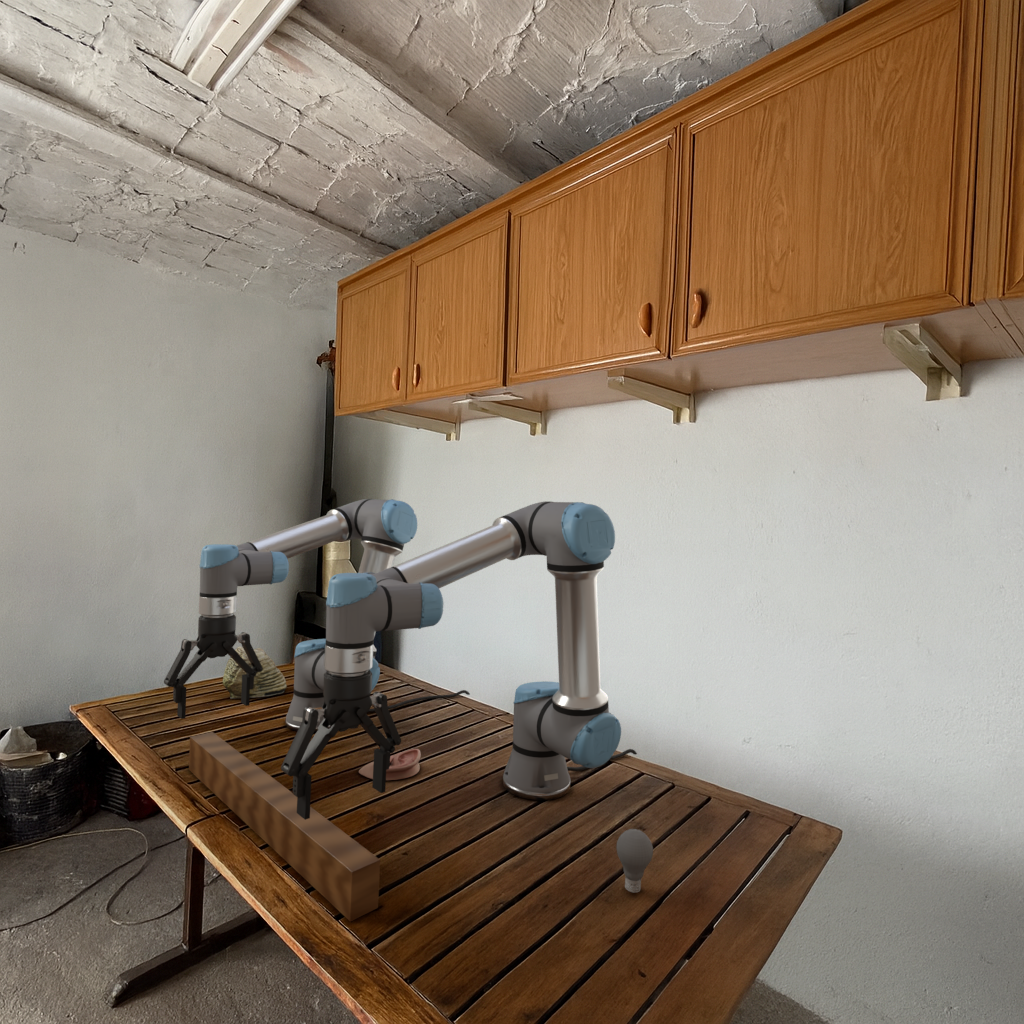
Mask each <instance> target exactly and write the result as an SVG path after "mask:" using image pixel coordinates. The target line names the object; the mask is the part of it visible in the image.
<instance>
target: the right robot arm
mask: <svg viewBox="0 0 1024 1024" xmlns="http://www.w3.org/2000/svg"><path fill="white" fill-rule="evenodd" d="M615 544H616V532H615V527H614V523H613V521H612V519H611V517H610V516H609V514H608V513H607V512H605V510H604V509H603V508H601V506H598V505H596V504H592V503H586V502H579V501H548V500H547V501H545V500H544V501H539V502H536V503H532V504H529V505H527V506H524V507H521V508H519V509H517V510H514V511H512V512H509V513H507V514H505V515H504V514H503V515H502V516H500V517H497V518H495V519H494V521H493V522H492V525H490V526H488V527H485V528H483V529H480V530H479V531H476V532H473V533H471V534H468V535H466V536H464V537H461V538H459V539H457V540H454V541H452V542H449V543H447V544H444V545H442V546H439V547H438V548H435V549H432V550H429V551H427V552H425V553H422V554H420V555H418V556H415V557H413V558H411V559H408V560H406V561H404V562H403V561H402V562H401V563H398V564H397V565H393V567H391V568H388V569H385V570H383V571H380V572H378V573H372V572H370V573H369V572H368V573H358V572H340V573H336V574H334V575H332V576H331V577H330V579H329V581H328V586H327V595H326V601H325V605H326V615H325V616H326V617H325V618H326V619H325V620H326V621H325V622H326V623H325V639H326V644H325V660H324V668H325V669H326V670H327V671H326V673H325V674H324V686H323V695H324V703H323V705H322V707H319V708H312V707H310V706H306V707H305V708H304V712H303V719H302V723H301V725H300V727H299V729H298V731H296V734H295V736H294V737H293V740H292V742H291V744H290V746H289V749H288V751H287V753H286V755H285V757H284V759H283V762H282V764H281V766H280V770H281V771H282V772H283V773H284V774H286V775H288V776H289V777H292V793H293V794H294V795H295V796H296V797H297V814H299V815H300V816H301V817H302V818H304V819H305V820H306V819H309V818H310V807H311V800H312V799H311V797H312V775H311V774H310V773H309V771H310V770H311V768H312V767H313V766H314V764H315V762H316V761H317V760H318V758H319V757H320V755H321V754H322V752H323V751H324V749H325V748H326V746H327V745H328V744H329V742H330V741H331V739H332V738H334V737H335V736H336V735H337V734H338V732H340V733H342V732H346V731H348V730H355V729H358V728H359V726H360V727H361V728H362V729H363V730H364V731H365V732H366V733H367V735H368V736H369V737H370V738H371V739H372V741H373V742H374V743H375V744H376V745H377V746H378V747H379V748H374V749H373V762H374V764H373V779H372V789H374V790H375V791H377V792H379V793H380V794H384V793H386V789H387V788H386V787H387V786H386V785H387V784H386V783H387V780H386V770H387V769H389V767H390V756H391V754H393V753H394V752H395V750H396V746H400V745H401V743H402V738H401V736H400V733H399V731H398V728H397V725H396V724H395V722H394V720H393V716H392V714H391V712H390V709H388V706H389V705H388V697H387V696H388V695H386V694H384V693H382V692H379V691H374V693H372V691H373V690H372V672H371V671H370V669H371V668H372V664H373V645H374V643H375V636H374V632H375V631H376V632H385V631H387V632H388V631H398V630H411V629H418V630H421V629H423V628H429V627H434V626H436V625H437V624H438V623H439V622H440V621H441V619H442V616H443V614H444V598H443V594H442V592H441V588H444V587H446V586H448V585H450V584H452V583H455V582H457V581H459V580H462V579H464V578H466V577H468V576H470V575H472V574H475V573H477V572H479V571H481V570H483V569H486V568H489V567H490V566H493V565H495V564H497V563H499V562H501V561H504V560H509V561H515V560H518V559H520V558H522V557H526V556H544V557H546V570H547V571H548V573H549V574H551V575H552V576H553V577H554V590H555V592H554V593H555V611H556V613H555V614H556V617H555V619H556V641H557V643H556V645H557V669H558V682H557V681H546V680H545V681H543V680H542V681H531V682H526V683H523V684H520V685H518V686H517V688H516V689H515V692H514V700H513V718H512V719H513V720H512V721H513V722H512V724H513V725H512V748H511V752H510V754H509V758H508V760H507V763H506V766H505V769H504V771H503V774H502V786H503V787H504V789H505V791H507V792H509V793H510V794H511V795H513V796H516V797H518V798H522V799H527V800H532V801H549V800H550V801H551V800H555V799H559V798H562V797H563V796H566V794H568V793H569V792H570V789H571V776H570V773H569V771H570V772H581V771H584V770H588V769H596V768H599V767H602V766H603V765H605V764H606V763H608V761H612V760H616V759H619V758H623V757H624V756H626V755H628V754H630V753H631V754H633V755H637V754H638V752H637V751H636V750H635V749H633V748H629V749H626V750H623V751H622V752H620V753H617V754H615V752H617V750H618V747H619V744H620V742H621V737H622V726H621V721H620V720H619V719H618V718H617V716H616V715H615V714H614V713H611V712H610V708H609V696H608V694H607V693H606V692H605V691H604V690H603V689H601V663H600V662H601V661H600V634H599V633H600V631H599V630H600V629H599V602H598V601H599V600H598V575H599V574H600V573H601V572H602V571H603V570H604V569H605V561H607V559H608V558H610V556H611V554H612V550H613V549H614V548H615ZM376 632H375V633H376ZM371 694H372V695H371ZM371 708H373V709H375V712H374V713H375V714H376V717H377V718H378V721H379V723H380V726H381V728H382V730H383V732H384V734H383V733H382V732H381V730H380V729H379V728H378V727H377V725H376V724H375V723H374V721H373V720H372V718H371V717H370V716H369V715H368V713H369V712H368V711H369V709H371ZM321 716H323V717H324V719H323V721H322V722H321V724H320V725H319V727H318V731H317V732H314V731H315V729H316V726H317V722H320V718H321ZM329 725H330V726H331V728H330V729H328V726H329ZM314 733H315V734H314ZM566 759H568V760H570V761H571V762H572V763H574V764H575V765H580V766H567V761H566Z"/></svg>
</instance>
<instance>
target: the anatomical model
mask: <svg viewBox="0 0 1024 1024" xmlns="http://www.w3.org/2000/svg"><path fill="white" fill-rule="evenodd" d="M421 756H422V754H421V750H420V749H419V748H412V749H408V750H404V751H402V752H398V753H396V754H393V755H390V767H389V769H387V770H386V781H397V780H403V779H407V778H410V777H413V776H415V775H417V774H418V773H419V771H420V768H421V766H420V763H419V762H420V760H421ZM373 764H374V761H371V762H369V763H367V764H365V765H363V766H362V767H361V768H360V769H359V770H358V773H359V774H360V775H361V776H363V777H366V778H368V779H371V780H373Z"/></svg>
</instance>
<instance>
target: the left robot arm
mask: <svg viewBox="0 0 1024 1024" xmlns="http://www.w3.org/2000/svg"><path fill="white" fill-rule="evenodd" d="M417 531H418V518H417V514H416V513H415V511H414V508H413V507H412V506H411V505H410V504H408V503H407V502H405V501H402V500H396V499H392V498H391V499H378V498H377V499H375V498H363V499H359V500H355V501H352V502H350V503H346V504H344V505H341V506H338V507H336V508H333V509H329V511H327V513H326V515H323V516H320V517H317V518H315V519H311V520H308V521H305V522H303V523H300V524H297V525H294V526H291V527H287V528H285V529H282V530H279V531H276V532H273V533H269V534H268V535H263V536H262V537H259V538H255V539H253V540H250V541H246V542H244V543H241V544H238V545H235V544H228V543H226V544H224V543H223V544H221V543H220V544H217V543H213V544H206V545H204V546H203V547H202V548H201V551H200V553H201V554H200V560H199V561H200V562H199V596H198V614H199V617H198V621H197V622H198V625H197V638H196V639H187V638H184V639H182V640H181V644H180V650H179V652H178V654H177V655H176V657H175V659H174V661H173V663H172V665H171V667H170V668H169V671H168V672H167V674H166V676H165V677H164V680H163V684H164V685H166V686H167V687H169V688H173V690H172V691H173V692H172V693H173V694H172V697H173V698H172V700H173V702H174V703H175V704H177V713H176V714H177V717H178V718H179V719H180V720H182V719H186V714H187V687H186V686H185V684H186V683H187V681H188V680H189V679H190V678H191V677H192V675H193V674H194V673H195V672H196V671H197V670H198V668H199V667H200V666H201V664H202V663H204V662H205V661H206V660H207V659H215V658H224V657H226V656H227V655H228V656H229V658H230V657H231V658H232V659H233V660H234V661H235V662H236V663H237V664H238V665H239V666H240V667H241V668H242V669H243V670H244V671H245V672H246V674H244V675H242V692H241V698H240V703H241V704H242V705H243V706H245V707H248V706H250V699H251V698H250V690H251V689H253V687H254V677H255V676H256V673H258V672H261V671H262V670H263V667H262V665H261V663H260V661H259V659H258V657H257V655H256V653H255V651H254V649H255V648H254V647H253V645H252V643H251V635H250V634H249V633H248V632H245V631H242V632H240V634H236V630H237V629H236V628H237V615H236V614H235V613H236V612H237V601H238V599H237V598H238V587H244V586H259V585H272V584H279V583H282V582H284V581H285V580H286V579H287V577H288V576H289V569H290V564H289V559H291V558H294V557H295V556H299V555H301V554H304V553H306V552H309V551H313V550H315V549H318V548H320V547H322V546H325V545H328V544H331V543H333V542H338V543H345V542H346V541H349V540H356V539H357V540H358V539H360V544H361V546H362V547H363V549H364V550H363V553H362V558H361V561H360V565H359V568H358V572H357V573H368V572H369V573H370V572H372V573H378V572H380V571H383V570H385V569H388V568H391V567H393V566H394V563H395V560H396V557H397V556H400V554H402V553H403V551H404V547H405V544H408V543H409V542H411V540H413V539H414V537H415V536H416V534H417ZM376 632H377V631H375V632H374V637H376ZM237 642H238V644H241V647H243V649H244V651H245V653H246V655H247V657H248V659H249V661H250V662H251V664H252V666H253V667H252V668H251V667H250V666H249V665H248V664H247V663H246V662H245V661H244V660H243V659H242V658H241V656H240V655H239V654H238V653H237V652H236V651H235V650H236V649H234V646H235V645H236V643H237ZM325 644H326V638H317V639H308V640H304V641H300V642H299V643H297V645H296V646H295V650H294V655H293V657H294V672H293V673H294V674H293V695H292V696H293V697H292V699H291V702H290V704H289V708H288V711H287V713H286V715H285V726H286V728H287V729H289V730H291V731H294V732H295V731H296V732H297V731H298V729H299V727H300V725H301V723H302V719H303V712H304V708H305V707H306V706H310V707H312V708H319V707H322V705H323V703H324V695H323V686H324V674H325V673H326V671H327V670H326V669H325V668H324V660H325ZM195 647H197V649H198V650H197V651H196V652H195V654H194V656H193V657H192V659H191V660H190V661H189V662H188V663H187V664H186V662H187V660H188V658H189V656H190V654H191V652H192V651H193V650H194V649H195ZM376 654H377V647H375V645H374V644H373V664H372V668H371V669H370V671H371V672H372V691H373V690H374V689H375V687H376V686H377V684H378V682H379V679H380V676H381V667H380V666H379V662H378V661H377V660H376ZM185 664H186V666H185ZM184 666H185V667H184ZM183 667H184V668H183ZM182 669H183V670H182ZM462 694H466V695H467V696H469V695H471V693H470V692H469V691H468V690H465V689H462V690H460V691H457V692H455V693H451V694H438V695H437V694H436V695H427V696H421V697H420V696H419V697H415V698H411V699H407V700H403V701H400V702H398V703H395V704H392V705H388V709H389V710H390V709H391V710H392V709H396V708H398V707H402V706H404V705H406V704H407V705H408V704H410V703H415V702H420V701H427V700H433V699H435V700H436V699H449V698H455V697H458V696H459V695H462ZM367 713H376V712H375V709H374V708H370V709H369V711H368V712H367ZM323 719H324V717H323V716H321V718H320V722H317V726H316V729H315V731H314V733H316V732H317V731H318V727H319V725H320V724H321V722H322V721H323ZM330 728H331V726H330V725H329V726H328V729H330Z"/></svg>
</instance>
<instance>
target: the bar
mask: <svg viewBox="0 0 1024 1024" xmlns="http://www.w3.org/2000/svg"><path fill="white" fill-rule="evenodd" d="M188 771H189V772H191V773H192V774H193V776H195V777H196V778H197V779H198V780H199V781H200V782H201V783H202V784H203V785H204V786H205V787H206V788H207V789H209V790H210V791H211V792H212V794H214V795H215V796H216V797H217V798H218V799H219V800H220V801H221V802H222V803H223V804H224V805H226V806H227V807H228V808H229V810H231V811H232V812H233V813H234V814H235V815H236V816H237V817H238V818H239V819H240V820H241V821H242V822H243V823H245V824H246V825H247V826H248V827H249V828H250V829H251V830H252V831H253V832H254V833H255V834H256V835H257V836H258V837H260V839H262V840H263V841H264V842H265V843H266V844H267V845H268V846H269V847H270V848H271V849H272V850H273V851H274V852H275V853H276V854H278V856H280V857H281V858H282V859H283V860H284V861H285V862H286V863H287V864H288V865H289V866H291V867H292V868H293V870H294V871H295V872H296V873H298V874H299V875H300V876H301V877H302V878H303V879H304V880H305V881H306V882H307V883H309V885H311V887H313V888H314V889H315V890H316V892H318V893H319V894H320V895H321V896H322V897H323V898H324V899H325V900H327V902H329V903H330V904H331V905H332V906H333V907H334V908H335V909H336V910H337V911H338V912H339V913H340V914H341V915H342V916H343V917H344V918H346V919H347V920H348V921H349V922H350V923H351V922H352V921H355V920H356V919H359V918H361V917H362V916H365V915H366V914H369V913H371V912H373V911H374V910H376V909H378V908H379V897H380V896H379V895H380V873H381V872H380V871H381V870H380V869H381V859H380V858H379V857H377V856H376V855H375V854H373V853H372V852H370V851H369V850H368V849H367V848H365V847H364V846H363V845H361V844H360V843H359V842H358V841H356V840H355V839H353V838H352V837H351V836H350V835H348V834H347V833H345V832H344V830H342V829H341V828H339V827H338V826H336V825H335V824H334V823H332V822H331V821H330V820H329V819H328V818H326V817H325V816H323V815H322V814H321V813H319V812H318V811H317V810H316V809H314V808H313V807H312V806H310V818H309V819H306V820H305V819H304V818H302V817H301V816H300V815H299V814H297V797H296V796H295V795H294V794H293V791H292V790H289V789H288V788H287V787H286V786H284V785H283V784H282V783H280V782H279V781H278V780H276V778H274V777H272V775H270V774H269V773H267V772H266V771H264V769H262V768H261V767H259V766H258V765H256V763H254V762H253V761H251V760H250V759H249V758H247V757H246V756H245V755H244V754H242V753H241V752H240V751H238V750H237V749H236V748H234V747H233V746H232V745H230V744H229V743H228V742H227V741H226V740H224V739H223V738H221V737H220V736H219V735H217V734H216V733H215V732H214V731H210V732H205V733H201V734H197V735H192V736H189V754H188Z"/></svg>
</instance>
